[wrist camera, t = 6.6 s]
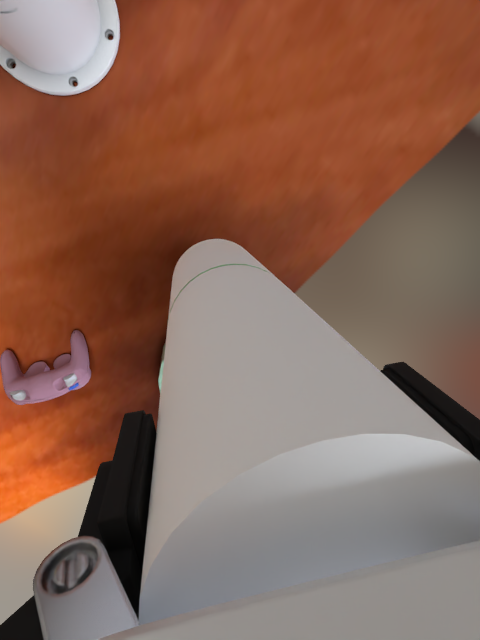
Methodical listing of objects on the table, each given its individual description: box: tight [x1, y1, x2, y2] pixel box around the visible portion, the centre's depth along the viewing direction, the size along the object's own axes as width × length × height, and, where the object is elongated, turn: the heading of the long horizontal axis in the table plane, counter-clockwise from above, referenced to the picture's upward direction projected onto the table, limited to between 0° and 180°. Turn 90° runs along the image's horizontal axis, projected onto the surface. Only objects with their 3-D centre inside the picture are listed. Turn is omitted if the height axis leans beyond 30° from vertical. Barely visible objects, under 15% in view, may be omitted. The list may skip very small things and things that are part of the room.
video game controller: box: [0, 330, 91, 405], centre depth 43 cm, size 10×5×7 cm, turn 104°
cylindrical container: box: [139, 239, 480, 625], centre depth 18 cm, size 7×7×25 cm
